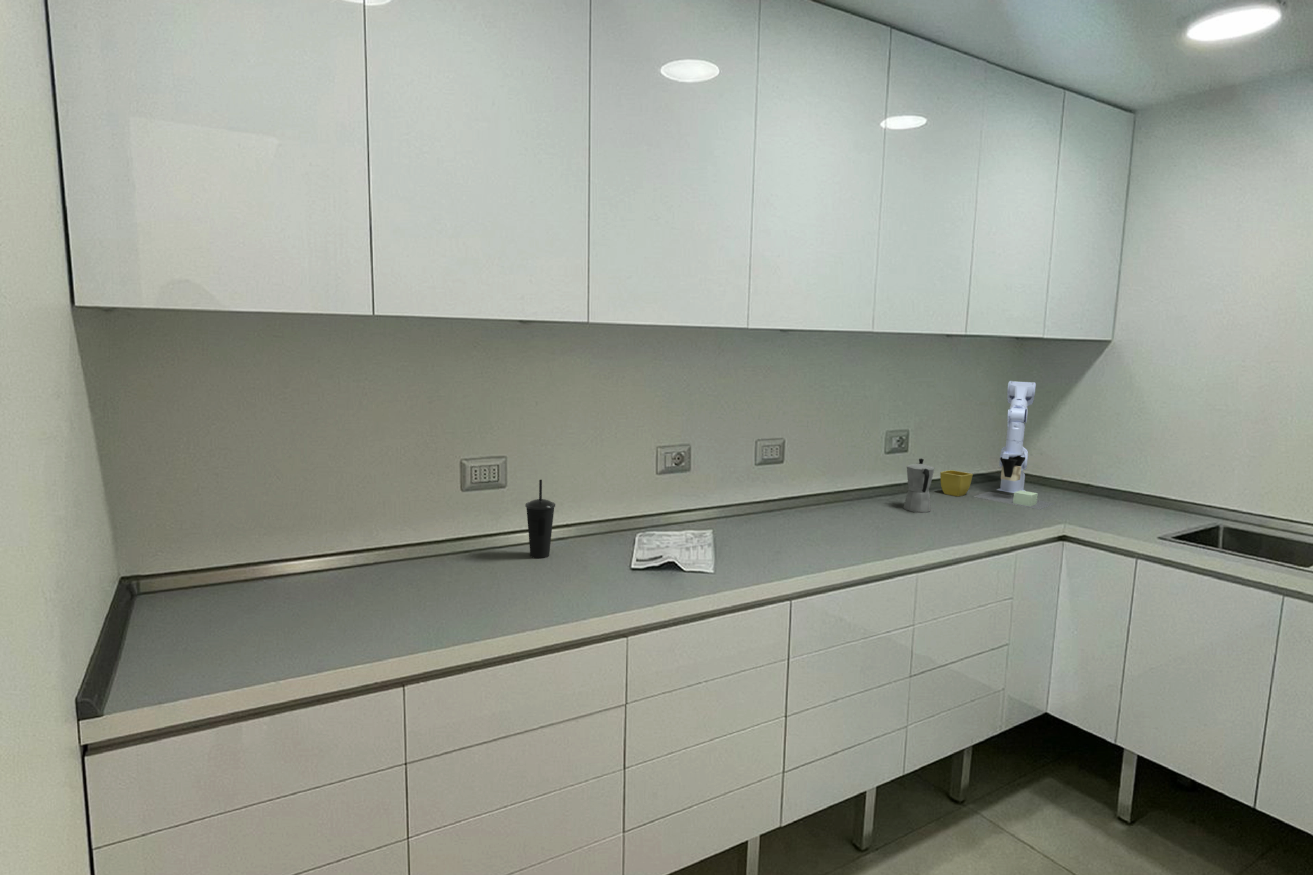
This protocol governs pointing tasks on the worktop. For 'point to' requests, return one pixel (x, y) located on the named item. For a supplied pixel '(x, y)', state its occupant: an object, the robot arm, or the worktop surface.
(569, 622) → the worktop surface
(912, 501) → the coffeepot
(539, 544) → the drinking cup
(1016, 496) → the sage brick
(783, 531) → the worktop surface
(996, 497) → the play mat
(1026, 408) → the robot arm
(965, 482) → the flower pot
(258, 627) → the worktop surface
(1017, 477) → the birch block
